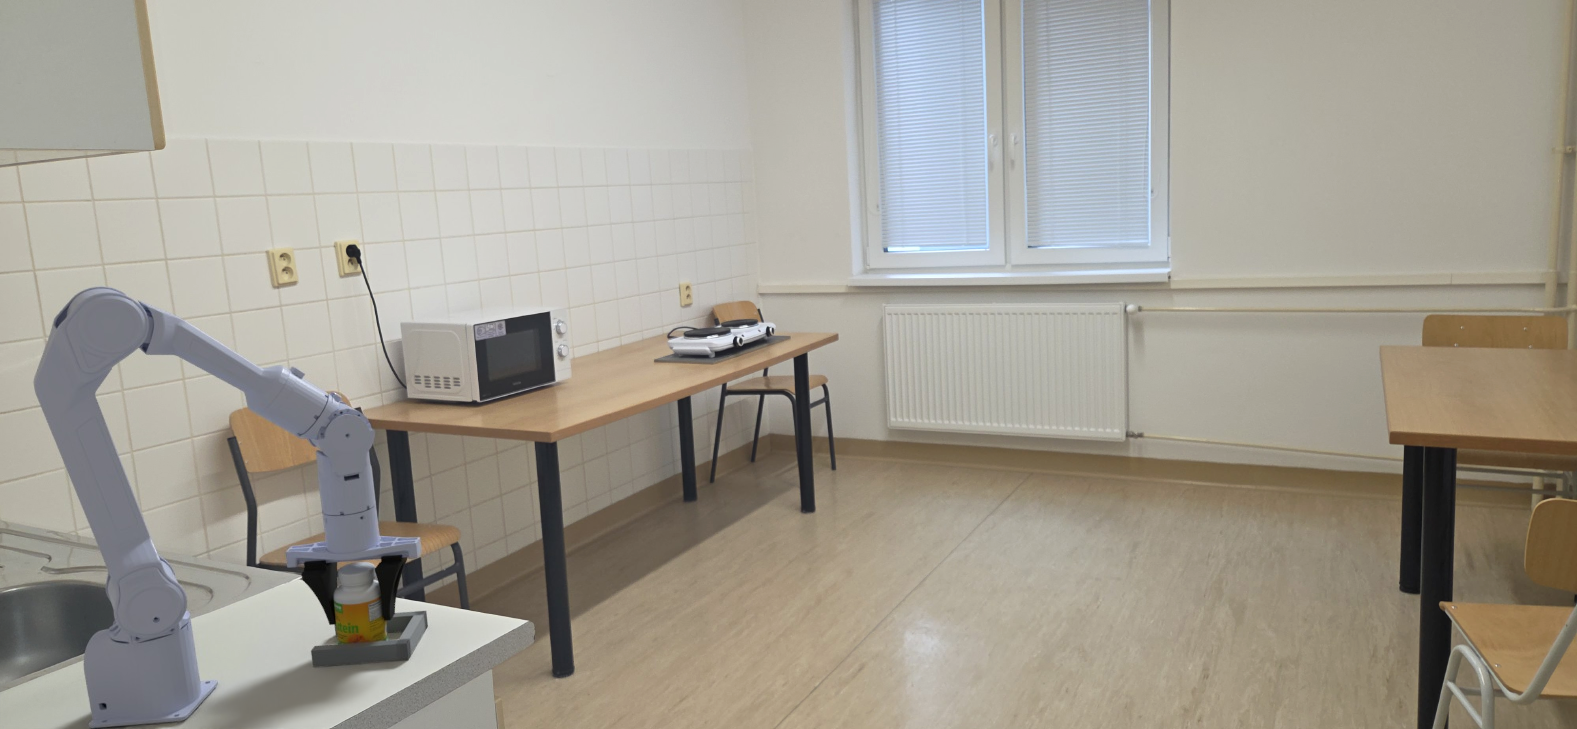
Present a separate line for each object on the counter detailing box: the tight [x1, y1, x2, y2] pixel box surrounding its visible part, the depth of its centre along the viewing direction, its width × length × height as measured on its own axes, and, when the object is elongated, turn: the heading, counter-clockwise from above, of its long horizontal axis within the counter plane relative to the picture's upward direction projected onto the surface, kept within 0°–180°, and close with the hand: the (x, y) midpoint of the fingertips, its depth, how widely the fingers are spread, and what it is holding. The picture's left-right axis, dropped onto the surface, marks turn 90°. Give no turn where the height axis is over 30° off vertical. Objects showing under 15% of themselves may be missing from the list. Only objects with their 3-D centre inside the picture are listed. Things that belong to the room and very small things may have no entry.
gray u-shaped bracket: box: [310, 610, 429, 668], centre depth 121 cm, size 10×9×2 cm
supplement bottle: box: [334, 561, 388, 644], centre depth 120 cm, size 5×5×10 cm
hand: (362, 619), depth 120 cm, fingers open, 5 cm apart
